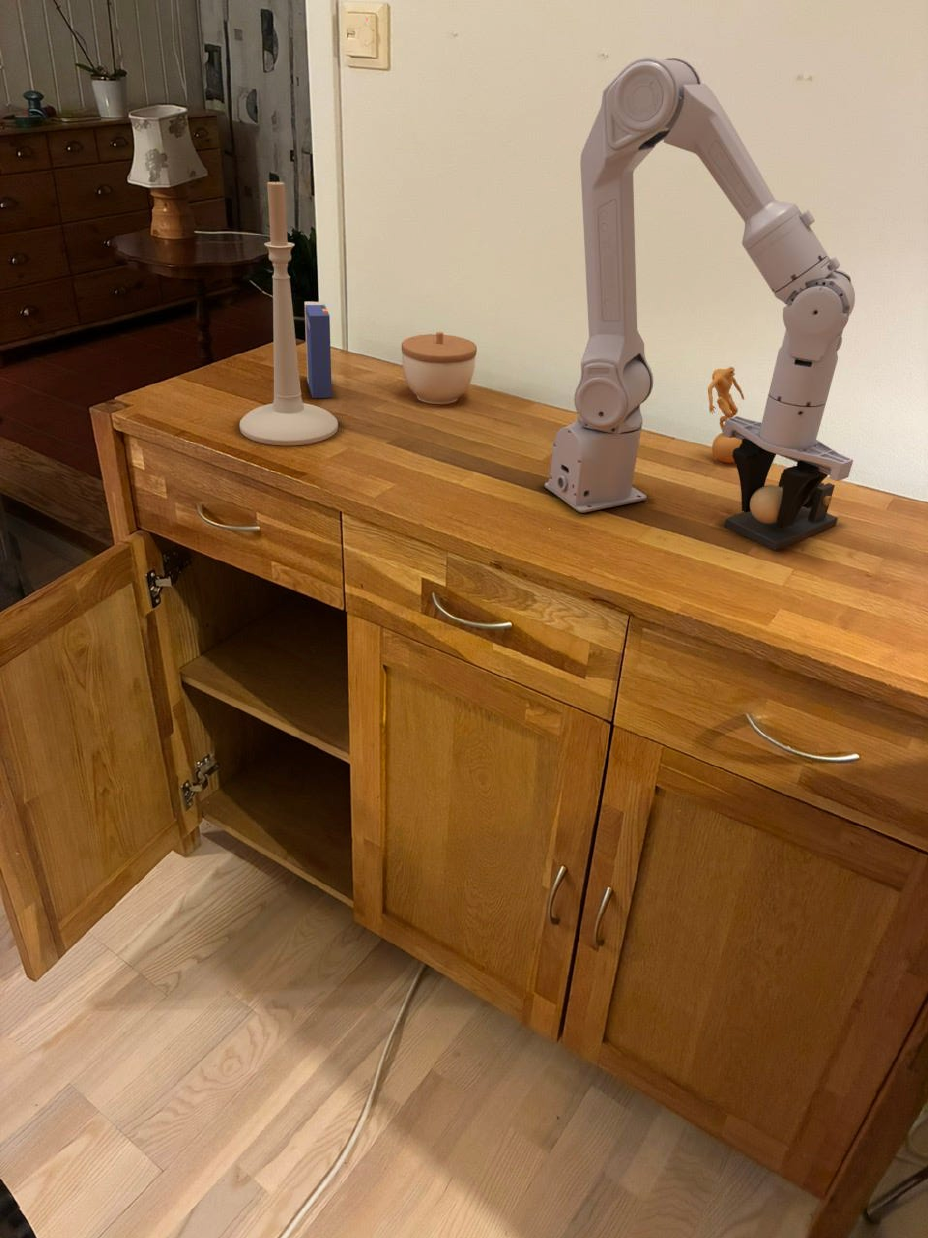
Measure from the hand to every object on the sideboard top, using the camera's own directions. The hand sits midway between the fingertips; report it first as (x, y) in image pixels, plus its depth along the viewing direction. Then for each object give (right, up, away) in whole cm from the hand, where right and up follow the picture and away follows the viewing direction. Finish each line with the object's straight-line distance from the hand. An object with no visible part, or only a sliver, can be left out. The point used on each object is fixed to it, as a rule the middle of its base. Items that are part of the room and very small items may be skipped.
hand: (766, 517), depth 101 cm
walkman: (-55, +22, +34) cm, 68 cm away
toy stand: (+2, -1, +3) cm, 4 cm away
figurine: (0, +10, +19) cm, 21 cm away
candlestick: (-57, +14, +21) cm, 62 cm away
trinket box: (-37, +21, +34) cm, 55 cm away
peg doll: (+6, +4, +3) cm, 8 cm away
